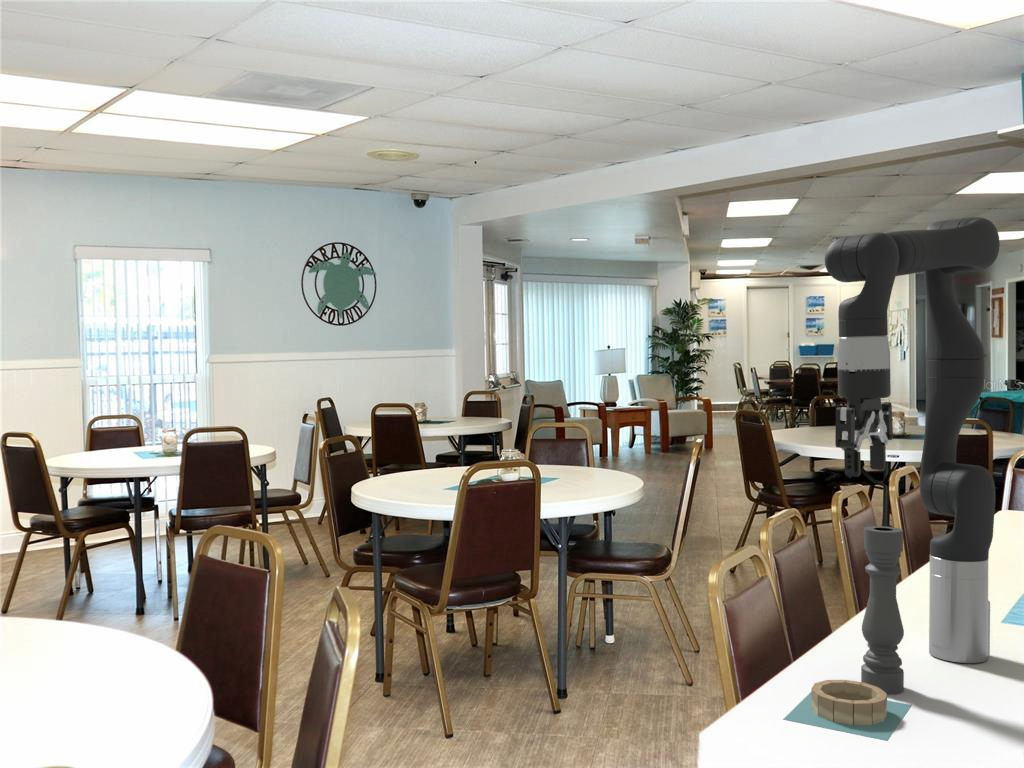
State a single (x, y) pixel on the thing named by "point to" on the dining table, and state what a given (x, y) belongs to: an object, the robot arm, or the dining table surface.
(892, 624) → the candle holder
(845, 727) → the runner mat
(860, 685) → the segmented wooden ring
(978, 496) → the robot arm
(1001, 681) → the dining table surface
